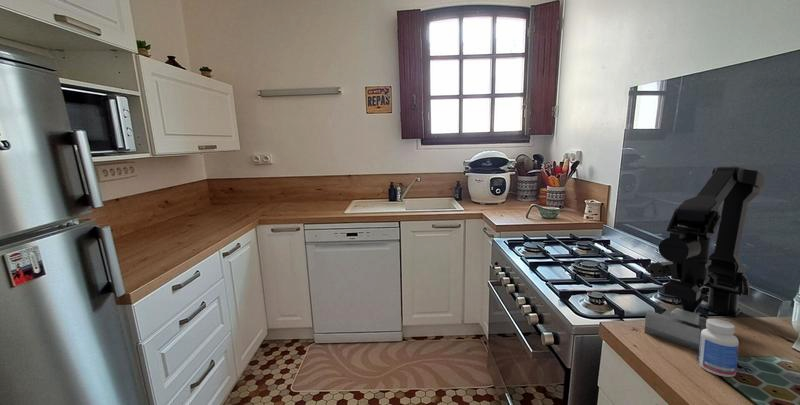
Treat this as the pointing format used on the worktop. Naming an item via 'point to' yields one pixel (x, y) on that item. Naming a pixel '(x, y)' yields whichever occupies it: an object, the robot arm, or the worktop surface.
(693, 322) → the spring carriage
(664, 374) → the worktop surface
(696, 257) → the robot arm
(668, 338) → the gauge base
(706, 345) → the pill bottle
